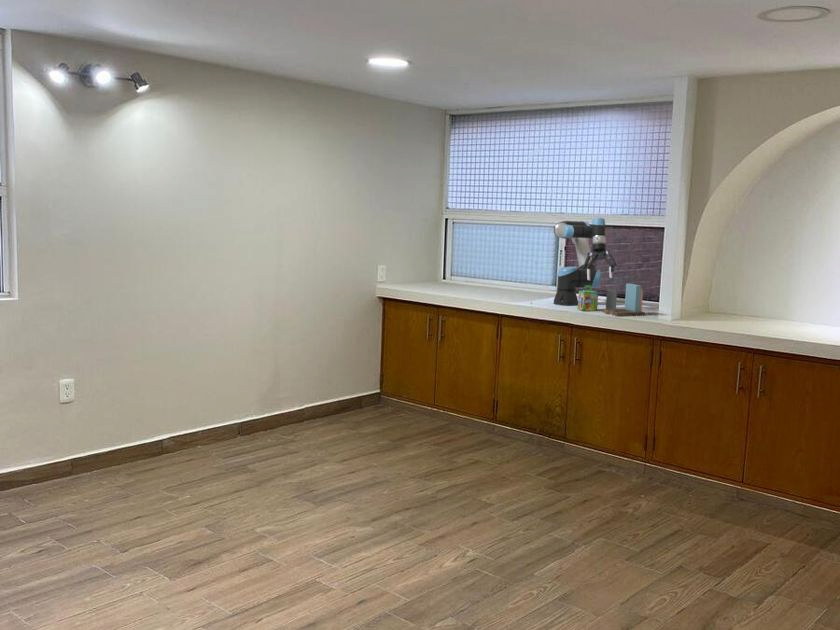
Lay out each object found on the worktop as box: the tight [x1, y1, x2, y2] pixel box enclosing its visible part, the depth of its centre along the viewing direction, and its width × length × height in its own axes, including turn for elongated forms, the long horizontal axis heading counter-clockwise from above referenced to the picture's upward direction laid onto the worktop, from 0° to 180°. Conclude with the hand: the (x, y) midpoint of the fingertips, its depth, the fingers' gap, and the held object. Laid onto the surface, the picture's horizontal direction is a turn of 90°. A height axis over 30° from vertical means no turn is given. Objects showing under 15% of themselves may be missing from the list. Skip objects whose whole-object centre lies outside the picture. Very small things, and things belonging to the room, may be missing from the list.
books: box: [624, 283, 644, 312], centre depth 467 cm, size 11×5×15 cm, turn 17°
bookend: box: [605, 288, 618, 312], centre depth 463 cm, size 10×1×12 cm, turn 17°
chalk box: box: [577, 285, 599, 312], centre depth 477 cm, size 9×9×15 cm
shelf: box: [602, 308, 646, 317], centre depth 466 cm, size 16×18×2 cm
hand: (599, 279), depth 477 cm, fingers open, 13 cm apart
